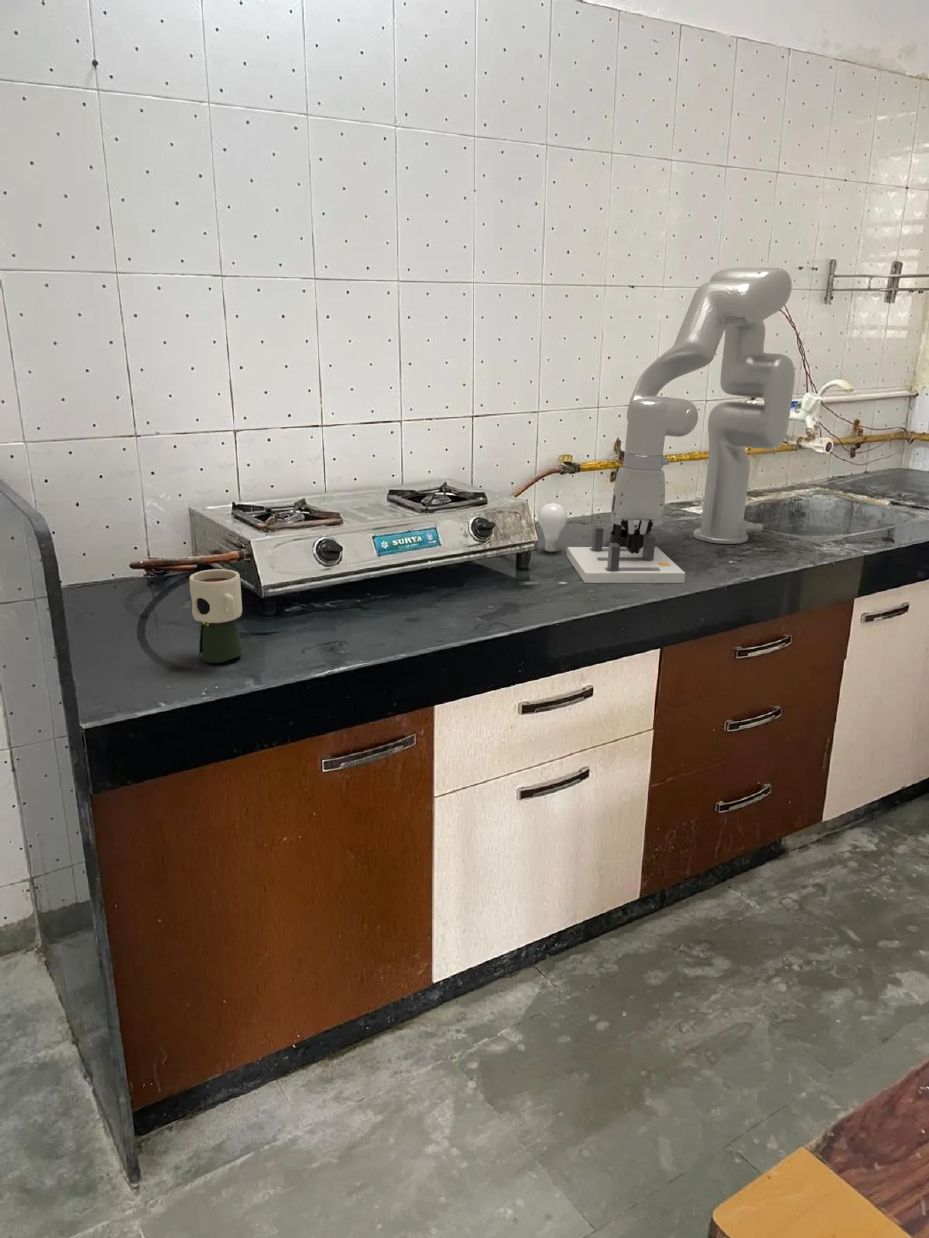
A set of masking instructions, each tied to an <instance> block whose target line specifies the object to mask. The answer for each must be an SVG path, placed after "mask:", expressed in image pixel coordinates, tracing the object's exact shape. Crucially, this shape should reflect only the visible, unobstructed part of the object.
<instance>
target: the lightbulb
mask: <svg viewBox="0 0 929 1238" xmlns="http://www.w3.org/2000/svg"><path fill="white" fill-rule="evenodd" d="M537 521H538V524H539V526H540V528H541V530H542V532H543V536H544V544H545V546H544V550H545V551H546V552H548V553H550V554H552V553H554V552H557V551H558V540H559V538H560V536H561V535H560V534H561V531H562V530H563V529H564V527H565V526H566V524H567V521H568V513H567V511H566V509H565V507H563V506H562V505H561V504H559V503H556V502H550V503H546V504H545V505H543V506H542V507H541V508H540V510H539V511H538V514H537Z"/></svg>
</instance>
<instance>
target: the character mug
mask: <svg viewBox="0 0 929 1238" xmlns="http://www.w3.org/2000/svg"><path fill="white" fill-rule="evenodd" d="M188 578H189V579H188V582H189V592H190V599H191V603H192V604H191V606H192V608H191V614H192V616H193V617H192V618H193V619H194V621H197V622H200V623H201V624H200V632H199V645H198V646H199V647H198V658H199V659H200V658H202V659H201V660H202V661H203V662H206V663H214V664H217V663H224V662H225V663H226V662H227V661H229V660H232V659H235V658H239V656H241V655H242V654H243V650H242V644H241V638H240V633H239V630H238V629H239V628H238V625H237V622H236V621H235V620H236V619H238V618H240V617H241V616H242V613H243V602H242V589H241V588H242V587H241V586H242V585H241V577H240V573H239V572H238V571H235V570H232V569H224V568H223V569H222V568H221V569H219V568H217V569H216V568H213V569H207V570H206V569H205V570H200V571H197V572H194V573H192V574H190V576H189V577H188ZM201 655H202V656H201Z"/></svg>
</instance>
